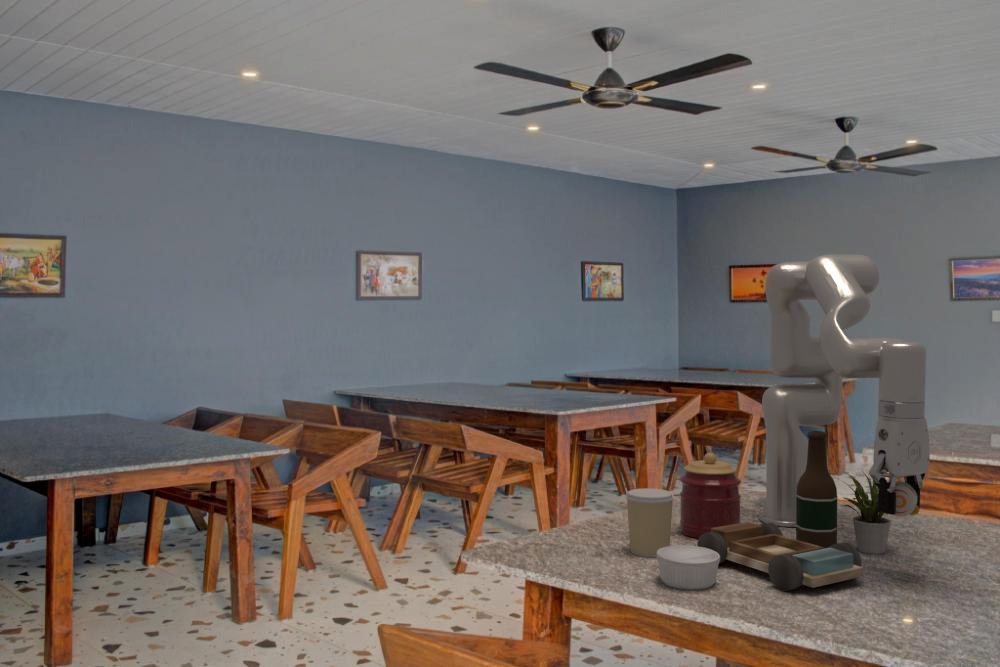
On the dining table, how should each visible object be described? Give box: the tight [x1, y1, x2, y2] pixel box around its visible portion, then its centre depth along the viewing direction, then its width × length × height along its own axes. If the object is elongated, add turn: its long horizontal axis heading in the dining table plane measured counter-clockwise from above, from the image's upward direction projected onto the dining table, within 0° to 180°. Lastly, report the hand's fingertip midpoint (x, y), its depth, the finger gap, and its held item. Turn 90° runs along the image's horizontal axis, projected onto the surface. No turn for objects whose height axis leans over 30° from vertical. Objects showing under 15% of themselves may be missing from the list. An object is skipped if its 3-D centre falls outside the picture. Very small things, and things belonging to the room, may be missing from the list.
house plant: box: [837, 470, 903, 555], centre depth 178 cm, size 14×14×16 cm
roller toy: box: [883, 480, 920, 518], centre depth 158 cm, size 4×6×6 cm
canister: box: [679, 452, 742, 539], centre depth 192 cm, size 13×13×18 cm
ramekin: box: [655, 544, 720, 591], centre depth 158 cm, size 11×11×5 cm
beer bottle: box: [795, 430, 838, 548], centre depth 179 cm, size 8×8×24 cm
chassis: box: [696, 521, 865, 592], centre depth 165 cm, size 28×17×6 cm, turn 30°
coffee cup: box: [625, 487, 674, 558], centre depth 178 cm, size 9×9×12 cm
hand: (898, 509), depth 158 cm, fingers closed on roller toy, 6 cm apart
